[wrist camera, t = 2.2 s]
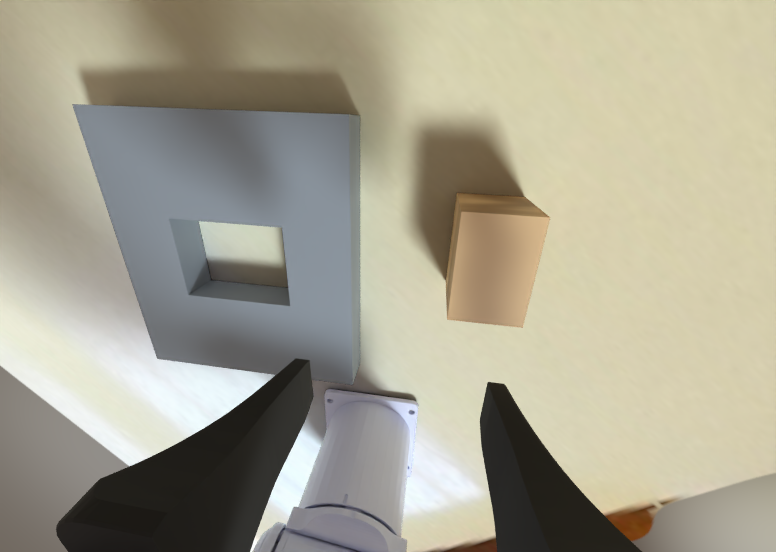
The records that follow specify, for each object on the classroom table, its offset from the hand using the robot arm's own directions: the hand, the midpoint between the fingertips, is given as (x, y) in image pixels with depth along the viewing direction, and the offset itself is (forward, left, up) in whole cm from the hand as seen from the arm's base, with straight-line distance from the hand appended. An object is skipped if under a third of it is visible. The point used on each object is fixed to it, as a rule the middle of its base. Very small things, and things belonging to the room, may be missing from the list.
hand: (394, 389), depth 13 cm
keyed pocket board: (+1, +12, -11) cm, 16 cm away
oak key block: (+3, -4, -11) cm, 12 cm away
